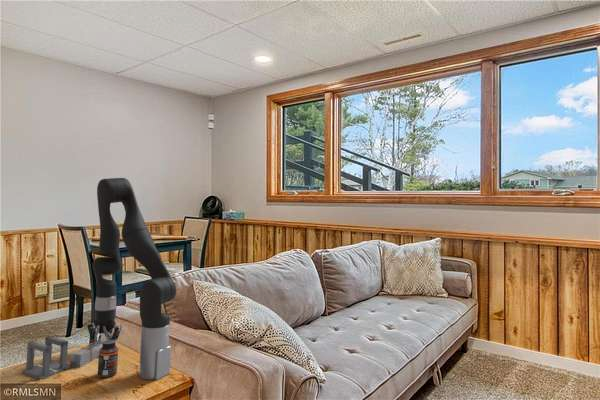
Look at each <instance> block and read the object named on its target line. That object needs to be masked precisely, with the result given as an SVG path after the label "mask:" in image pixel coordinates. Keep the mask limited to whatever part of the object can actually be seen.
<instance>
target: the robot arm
mask: <svg viewBox="0 0 600 400" xmlns="http://www.w3.org/2000/svg"><path fill="white" fill-rule="evenodd" d="M96 198H97V208H98V209H97V211H98V217H99V226H100V227H99V230H100V231H99V247H98V250H99V252H100V253H101V254H104V255H108V256H97V257H96V258H95V259H93V261H92V270H93V274H94V277H95V283H96V294H95V295H96V296H95V301H94V316H93V317H94V318H93V319H94V322H90V323H89V324H87V330H88V336H89V339H90V340H93V342H95V341H97V340H99V339H101V338H103V337H102V336H103V334H104V338H106V339H107V340H115V341H117V340H118V339H119V337H120V333H121V330H122V328H123V326H122V325H118V324H116V316H117V282H116V280H112V279H108V278H104V277H103V276H105V275H106V276H109V275H110V276H111V275H118V274H119V273H121V272H122V270H123V262H122V257H121V253H120V243H121V241H120V240H121V239H122V241H123V243H124V246H125V248H126V250H127V252H128V254H129V255H130V256H132V258H133V259H134V260H136V262H138V263H139V264H140V265H142V267H144V269H145V270H146V271H147V272H148V274H149V277H150V278H151V279H147V280H145V281H144V282H143V283H142V284H141V287H140V290H139V316H140V320H141V327H140V328H141V330H140V331H141V332H140V349H139V351H140V352H139V370H138V371H139V373H138V375H139V377H140V378H141V379H142V380H156V381H158V380H159V379H161V378H164V377H165V376H167V375H169V374H170V373H171V356H172V355H171V352H172V345H170V329H171V328H170V324H171V323H170V322H171V317H170V315H169V313H166V312H162V305H164V304H168V303H169V302H172V301H173V300H174V299H175V298H176V295H177V286H176V283H175V281H174V279H173V277H172V275H171V273H170V271H169V270H168V268H167V267H166V265H165V263H164V261H163V260H162V258H161V255H160V254H159V251H158V249H157V247H156V245H155V242H154V239H153V237H152V234H151V232H150V230H149V228H148V226H147V223H146V222H145V220H144V217H143V214H142V213H141V210H140V208H139V207H140V206H139V205H138V201H137V197H136V194H135V191H134V189H133V186H132V184H131V182H130V181H129V180H128V179H127V178H126V177H114V178H102V179H101V180H99V181H98V183H97V187H96ZM114 203H115V204H116V203H122V206H123V207H124V212H125V213H124V214H125V216H124V221H123V223H122V228H121V232H120V228H119V225H118V223H116V221H115V219H114V217H113V216H112V213H111V204H114ZM121 237H122V238H121Z"/></svg>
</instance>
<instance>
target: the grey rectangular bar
mask: <svg viewBox="0 0 600 400" xmlns="http://www.w3.org/2000/svg"><path fill="white" fill-rule="evenodd" d="M106 340H107V339H106V337H101V339H99V340H97V341H93V342H91V343H90V344H87V345H85V346H83V347H80V348H79V349H77V350H75V351H74V352H71V353H70V363H69V366H70V367H72V366H73V367H74V368H82V367H84V366H85V365H87V364H90V363H91V362H93V361H94V360H96V359H97V358H98V359H99V350H100V349H101V348H102V347H103V346H102V345H103V342H104V341H106ZM83 365H84V366H83Z"/></svg>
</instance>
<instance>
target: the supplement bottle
mask: <svg viewBox="0 0 600 400" xmlns="http://www.w3.org/2000/svg"><path fill="white" fill-rule="evenodd" d="M116 341H117V340H106V341H104V342H103V345H102V346H103V347H102V348H101V349H100V350H99V357H98V360H97V361H98V363H97V377H99V378H102V379H103V378H104V379H106V378H107V379H108V378H111V377H114V376H115V375H117V372H118V358H119V357H118V356H119V347H117V346H116V345H117V344H116Z"/></svg>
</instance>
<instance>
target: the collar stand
mask: <svg viewBox="0 0 600 400" xmlns="http://www.w3.org/2000/svg"><path fill="white" fill-rule="evenodd" d="M44 340H45V341H44V343H45V344H43V343H40V342H36V341H28V342H27V343H26V344H27V346H26V365H25V366H26V367H25V369H23V370H21V372H22V373H21V374H23V375H26V376H29V377H30V378H34V377H35V378H34V379H36V378H37V380H40V381H42V380H44V379H47V378H49V377H52V376H54V375H57V374H60V373H62V371H63V372H64V371H65V372H66V371H67V370H70V369H71V366H70V364H68V352H69V351H68V348H69V347H68V346H69V341H68V340H65V339H62V338H58V337H54V336H52V335H51V336H50V335H49V336H46V337H45V338H44ZM53 345H57V346H59V347H60V354H59V355H60V356H59V361H57V360H53V359H52V350H53ZM35 350H36V351H39V352H42V363H40V364H37V365H34V364H35Z"/></svg>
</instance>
